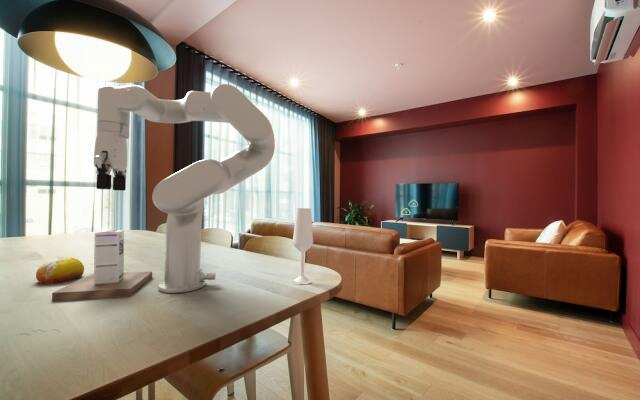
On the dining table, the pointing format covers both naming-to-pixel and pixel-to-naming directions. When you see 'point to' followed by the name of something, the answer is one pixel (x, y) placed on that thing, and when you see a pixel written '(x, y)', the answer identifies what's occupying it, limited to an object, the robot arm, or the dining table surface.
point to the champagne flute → (303, 236)
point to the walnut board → (102, 287)
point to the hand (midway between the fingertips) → (111, 189)
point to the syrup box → (109, 256)
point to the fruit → (60, 271)
